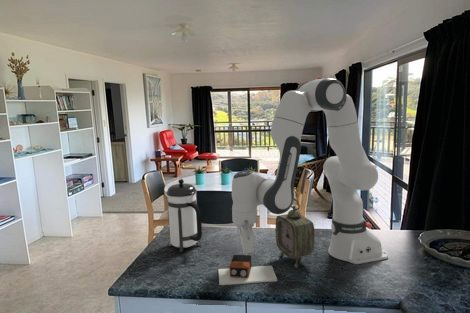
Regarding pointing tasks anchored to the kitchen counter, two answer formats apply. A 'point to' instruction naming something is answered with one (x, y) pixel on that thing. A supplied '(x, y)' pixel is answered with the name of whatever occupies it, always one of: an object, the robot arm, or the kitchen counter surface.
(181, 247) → the coffee press
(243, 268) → the battery
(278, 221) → the tabletop clock
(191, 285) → the kitchen counter surface
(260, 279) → the mat
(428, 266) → the kitchen counter surface
